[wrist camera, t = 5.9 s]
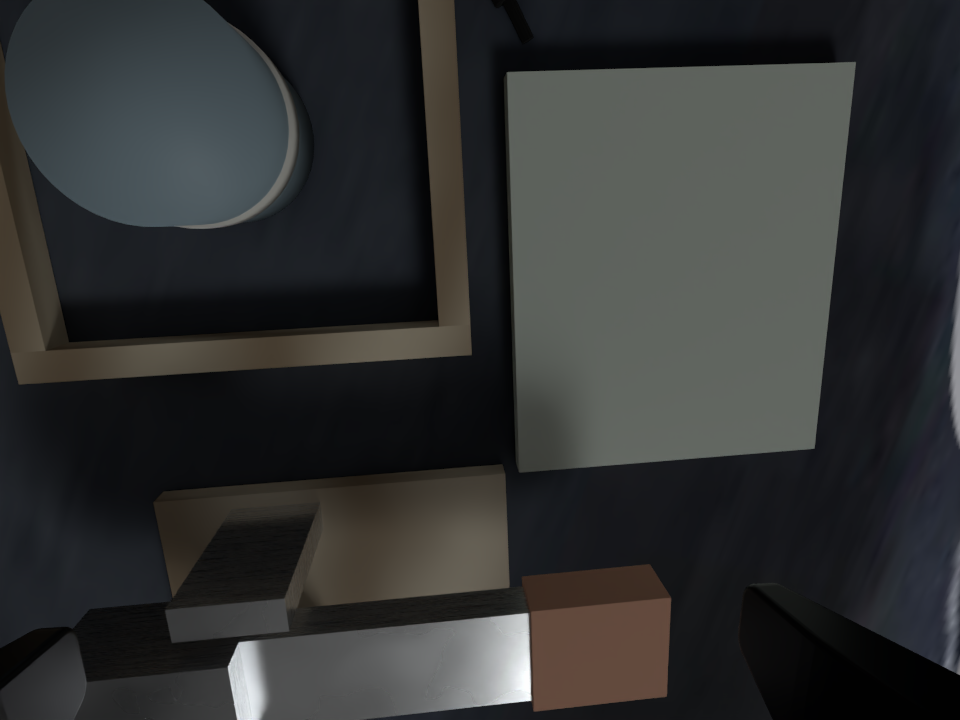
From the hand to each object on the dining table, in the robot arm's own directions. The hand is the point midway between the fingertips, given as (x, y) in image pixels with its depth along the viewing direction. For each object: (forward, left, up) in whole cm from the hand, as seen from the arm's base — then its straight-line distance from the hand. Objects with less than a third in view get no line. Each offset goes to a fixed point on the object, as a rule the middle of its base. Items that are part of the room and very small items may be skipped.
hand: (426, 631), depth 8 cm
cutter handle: (-2, -7, -9) cm, 12 cm away
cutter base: (-3, -7, -13) cm, 15 cm away
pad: (+9, +3, -13) cm, 16 cm away
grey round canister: (-5, +8, -13) cm, 16 cm away
